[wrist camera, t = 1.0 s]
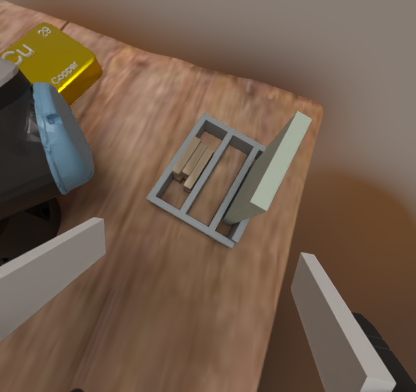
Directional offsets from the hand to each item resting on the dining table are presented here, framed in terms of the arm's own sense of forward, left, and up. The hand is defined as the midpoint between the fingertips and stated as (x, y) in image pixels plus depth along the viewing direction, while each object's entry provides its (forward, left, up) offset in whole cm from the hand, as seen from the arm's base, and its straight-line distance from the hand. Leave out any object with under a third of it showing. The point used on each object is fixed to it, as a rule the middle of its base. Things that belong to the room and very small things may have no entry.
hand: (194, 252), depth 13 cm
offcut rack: (-2, +14, -26) cm, 30 cm away
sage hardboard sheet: (+4, +14, -26) cm, 30 cm away
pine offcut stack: (-8, +14, -26) cm, 31 cm away
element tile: (-45, +17, -27) cm, 55 cm away
